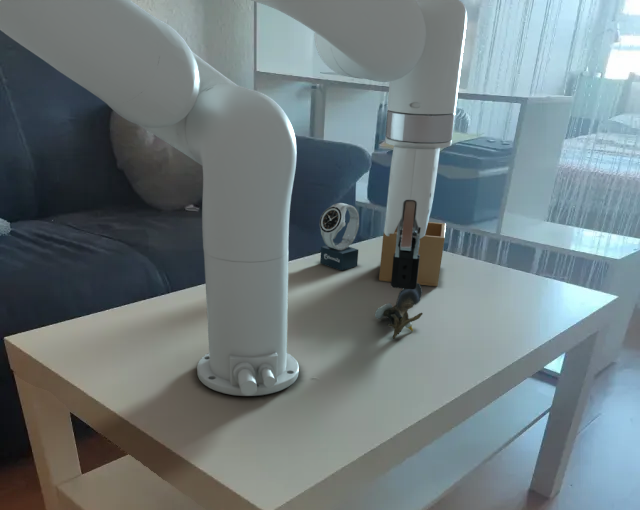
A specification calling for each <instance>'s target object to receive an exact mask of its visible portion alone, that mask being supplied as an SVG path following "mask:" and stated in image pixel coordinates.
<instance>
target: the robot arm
mask: <svg viewBox="0 0 640 510" xmlns="http://www.w3.org/2000/svg"><path fill="white" fill-rule="evenodd" d="M250 1H251V2H255V3H258V4H261V5H263V6H267V7H268V8H269V7H270V8H271V9H274V10H276V11H279V12H281V13H283V14H284V15H287V16H288V17H290V18H292V19H293V20H295V21H297V22H299V23H301V24H302V25H303V26H305V27H307V29H309V30H311V31H312V32H314V42H315V48H316V52H317V54H318V56H319V58H320V59H321V61H322V62H323V63H324V65H326V66H327V67H328V68H329V69H330V70H332V71H333V72H335V73H336V74H338V75H341V76H343V77H349V78H353V79H359V80H363V79H364V80H369V81H373V82H379V83H388V85H389V86H388V94H387V95H388V96H387V112H386V123H385V124H386V125H385V136H384V137H385V139H384V143H386V144H387V145H390V146H393V148H392V153H391V162H390V169H389V177H388V178H389V179H388V189H387V200H386V210H385V219H384V229H383V233H385V235H386V236H389V235H390V234H394V232H395V230H396V228H397V235H396V237H397V238H396V250H395V253H394V256H393V267H392V279H391V282H390V286H391V288H393V289H401V290H403V289H415V288H416V285H417V277H418V268H419V259H420V255H418V252H419V243H420V238H422V237H424V236H425V233H426V229H427V225H428V222H430V218H431V217H430V216H431V213H432V209H433V201H434V196H435V189H436V184H437V183H436V182H437V175H438V168H439V162H440V161H439V160H440V151H441V149H445V148H448V147H451V146H452V143H453V134H454V127H455V117H456V111H457V104H458V103H457V102H458V96H459V95H458V93H459V86H460V78H461V72H462V71H461V70H462V63H463V56H464V54H463V53H464V48H465V39H466V32H467V31H466V30H467V23H468V12H467V7H466V6H465V4H464V2H462V1H461V0H250ZM0 31H1V32H2V33H4V34H5V35H6V36H7V37H8V38H10V39H11V40H13V41H14V42H16V43H18V44H19V45H20V46H22V47H24V48H25V49H26V50H28V51H30V53H32V54H33V55H35V56H36V57H38V58H40V59H41V60H43V61H44V62H45V63H47V64H48V65H49V66H51V67H52V68H54V69H55V70H56V71H58V72H59V73H61V74H62V75H63V76H65V77H67V78H68V79H70V80H71V81H73V82H74V83H76V84H78V85H79V86H80V87H82V88H83V89H85V90H86V91H88V92H90V94H93V95H94V96H95V97H97V98H98V99H100V100H101V101H102V102H104V103H105V104H106V105H107V106H108V107H109V108H110V109H111V110H112V111H114V113H116V114H117V115H118V116H120V117H121V118H123V119H125V120H126V121H128V122H130V123H132V124H134V125H137V126H140V127H141V128H142V129H144V130H146V131H147V132H149V133H150V134H152V135H154V136H155V137H157V138H158V139H159V140H161V141H163V142H165V143H166V144H168V145H169V146H171V147H172V148H174V149H175V150H177V151H179V152H181V153H182V154H184V155H185V156H187V157H188V158H190V159H191V160H193V161H194V162H196V163H197V164H199V165H200V166H201V168H202V199H201V200H202V201H201V202H202V203H201V204H202V205H201V228H202V230H201V231H202V232H201V233H202V249H203V258H204V259H203V260H204V261H203V262H204V263H203V264H204V278H205V279H204V281H205V299H206V300H205V301H206V319H207V333H208V335H207V337H208V339H207V340H208V353H206V354H204V355H203V356H202V357H201V358H200V359H199V360H198V362H197V365H196V370H197V377H198V380H199V381H200V382H201V383H202V384H203V385H204V386H206V387H207V388H209V389H211V390H213V391H215V392H218V393H222V394H226V395H231V396H238V397H239V396H240V397H257V396H264V395H265V396H266V395H270V394H274V393H277V392H280V391H283V390H285V389H287V388H289V387H290V386H291V385H292V384H294V383H295V382H296V380H297V379H298V377H299V374H300V373H299V369H300V366H299V361H298V360H297V359H296V358H295V357H294V356H293V355H292V354H290V353H289V352H288V306H289V305H288V303H289V301H288V300H289V299H288V298H289V256H290V255H289V253H290V252H289V240H290V239H289V237H290V235H289V234H290V213H291V212H290V211H291V202H292V194H293V187H294V181H295V176H296V175H295V174H296V169H297V168H296V167H297V157H298V156H297V155H298V154H297V153H298V152H297V151H298V150H297V139H296V135H295V130H294V128H293V125H292V123H291V121H290V118H289V117H288V115H287V113H286V112H285V111H284V109H283V108H282V107H281V105H279V104H278V103H277V101H275V100H274V99H273V98H272V97H270V96H268V95H266V94H265V93H263V92H261V91H258V90H255V89H252V88H249V87H245V86H240V85H238V84H237V83H235V82H234V81H232V79H230V78H228V77H227V76H226V75H224V74H223V73H221V72H220V71H219V70H217V69H216V68H215V67H213V66H212V65H211V64H210V63H208V62H206V61H205V60H204V59H203V58H201V56H199V55H197V54H196V53H195V52H194V51H192V49H191V48H190V47H189V45H188V43H187V42H186V40H185V39H184V38H183V36H181V34H180V33H179V32H178V31H177V30H176V29H175V28H173V27H172V26H171V25H170V24H168V23H166V22H165V21H163V20H161V19H160V18H158V17H157V16H155V15H153V14H152V13H149V12H148V11H147V10H146V9H144V8H143V7H141V6H140V5H138V4H137V3H135V2H134V1H133V0H0Z"/></svg>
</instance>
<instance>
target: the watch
mask: <svg viewBox="0 0 640 510" xmlns="http://www.w3.org/2000/svg"><path fill="white" fill-rule="evenodd" d="M347 211H348V214H349V222H347V225H346V222H345V221H346V214H347ZM344 227H346V229H345V231H344V233H343V236H342V240H341V241H340V242H339V243H338V242H335V241H334V240H335V239H336V238H337V235H338V234H339V232H340V231H342V229H343V228H344ZM359 227H360V214H359V211H358V210H357V208H356V207H355V206H354V205H351V204H347V203H343V202H337V203H334V204H332V205H331V206H329V207H328V208H326V209H325V210H324V211H323V212H322V214H321V215H320V218H319V228H320V235H321V237H322V240H323V243H324V244H325V245H323V246H321V247H320V263H319V264H322V265H325V266H327V267H330V268H333V269H336V270H339V271H345V270H349V269H352V268H355V267H358V261H359V249H358V248H355V247H351V246H350V245H352V244H353V243H354V241H355V239H356V238H357V237H356V236H357V234H358V231H359Z"/></svg>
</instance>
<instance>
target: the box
mask: <svg viewBox="0 0 640 510" xmlns="http://www.w3.org/2000/svg"><path fill="white" fill-rule="evenodd" d="M446 226H447V223H445V222H434V221H428V225H427V229H426V233H425V236H424V237H422V238H420V243H419V252H418V255H420V259H419V268H418V277H417V283H419V285H420V286H426V287H427V286H429V287H438V286H439V279H440V273H441V267H442V259H443V253H444V245H445V239H446V228H447V227H446ZM396 235H397V228H396V230H395V232H394V234H390V235H389V236H386V235H385V233H384V232H383V234H382V245H381V255H380V265H379V275H378V281H379V282H390V283H391V279H392V267H393V256H394V253H395V250H396V238H397V237H396Z"/></svg>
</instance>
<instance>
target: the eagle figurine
mask: <svg viewBox="0 0 640 510" xmlns="http://www.w3.org/2000/svg"><path fill="white" fill-rule="evenodd" d="M422 295H423V290H422V285H419V283H417V285H416V288H415V289H401V290H400V291H399V292H398V295H397V299H396V302H395V304H394V305H392V303H390V302H388V303H385V304H383V305H381V306H380V307H378V308H377V309H376V311H375V312H374V316H375V319H378V320H379V319H382V318H387V319H389V321H390V323H388V324H387V327H389V328H390V327H391V328H393V335H392V340H395V339H396V337H397V336H398V335H400V333H401V332H402V330H403V329H404V328H406V329H409V330H410V331H411V332H414V330H413V323H412V322H415V321H417V320H419V319H420V318H421V317H422V316H423V313H424V312H419V313H418V314H417V315H414V316H413V317H410V318H409V313H408V311H409V310H410V309H412V308H414V306H416V305H417V304H419V303H420V301H421V298H422Z"/></svg>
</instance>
